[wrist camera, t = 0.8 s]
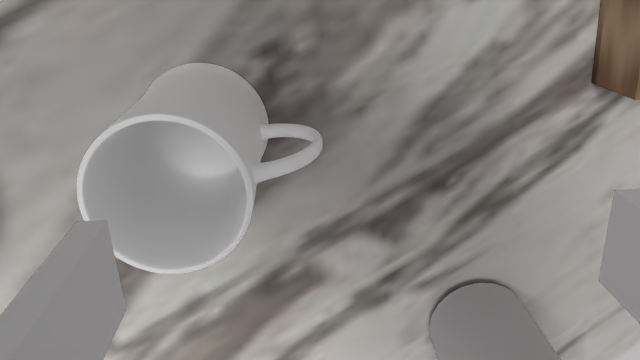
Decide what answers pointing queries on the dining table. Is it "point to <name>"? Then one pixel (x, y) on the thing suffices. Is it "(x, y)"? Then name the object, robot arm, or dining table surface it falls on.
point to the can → (486, 326)
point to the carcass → (618, 48)
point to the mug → (184, 169)
